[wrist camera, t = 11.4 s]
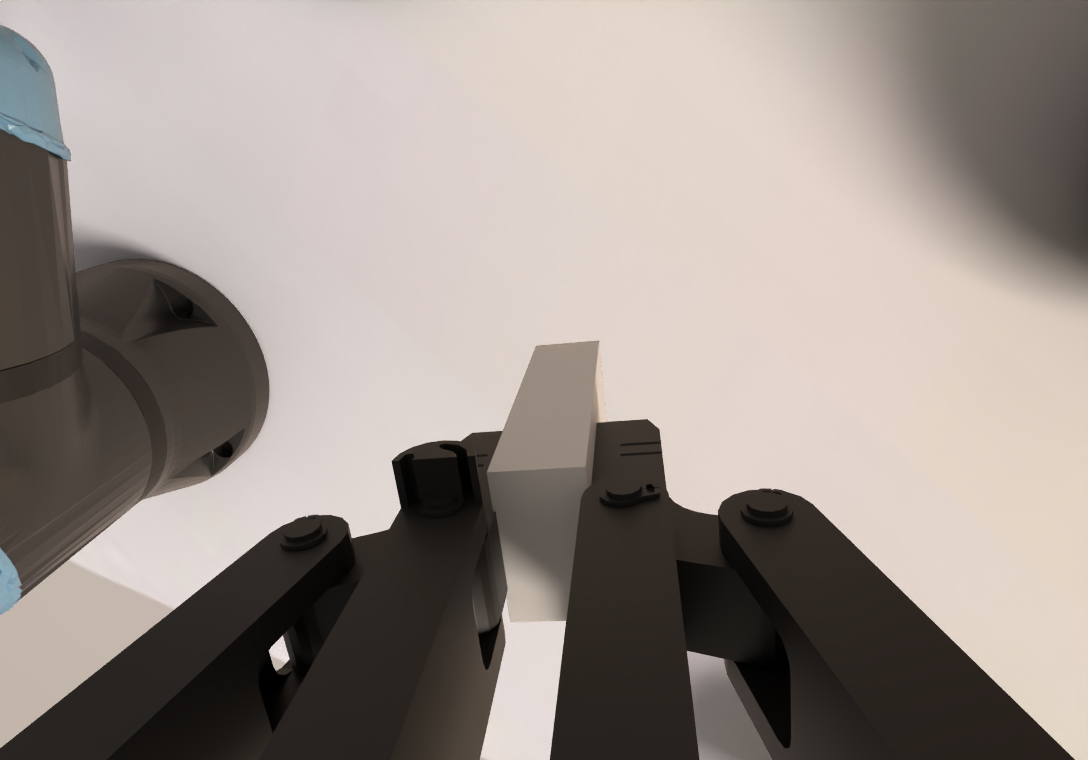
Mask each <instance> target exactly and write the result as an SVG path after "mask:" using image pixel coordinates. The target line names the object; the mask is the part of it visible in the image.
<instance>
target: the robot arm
mask: <svg viewBox="0 0 1088 760" xmlns="http://www.w3.org/2000/svg"><path fill="white" fill-rule="evenodd" d="M67 161H71V154H70V151H69V149H68V148H67V146H66V145H65V144H64V141H63V135H62V129H61V123H60V117H59V110H58V103H57V96H56V89H55V82H54V78H53V73H52V71H51V69H50V66H49V65H48V63H47V61H46V59H45V58H44V56H43V55H42V54H41V53H40V51H39V50H38V49H37V48H36V47H35V46H34V45H33V44H32V43H31V42H30V41H28V40H27V39H26V38H24V37H23V36H21V35H20V34H18V33H17V32H15V31H13V30H11V29H9V28H7V27H5V26H2V25H0V615H2V614H3V613H5V612H6V611H7V610H9V609H11V608H12V607H13V606H14V605H15V604H16V603H17V602H18V601H19V600H20V599H21V598H22V597H23V596H25V595H26V594H27V593H28V592H29V591H31V590H32V589H33V588H34V587H36V586H37V585H38V584H39V583H40V582H42V581H43V580H44V579H45V578H46V577H48V576H49V575H50V574H51V573H53V572H54V571H55V570H56V569H58V568H59V567H60V566H61V565H62V564H64V563H65V562H66V561H67V560H69V559H70V558H71V557H72V556H73V555H75V554H76V553H77V552H78V551H80V550H81V549H82V548H83V547H84V546H86V545H87V544H88V543H89V542H91V541H92V540H93V539H94V538H95V537H97V536H98V535H99V534H100V533H101V532H103V531H104V530H105V529H106V528H108V527H109V526H110V525H111V524H112V523H114V522H115V521H116V520H117V519H119V518H120V517H121V516H122V515H123V514H125V513H126V512H127V511H128V510H130V509H131V508H132V507H133V506H134V505H136V504H137V503H138V502H140V501H141V500H143V499H146V498H150V497H153V496H157V495H160V494H164V493H168V492H171V491H175V490H178V489H182V488H185V487H189V486H192V485H195V484H198V483H201V482H203V481H206V480H208V479H210V478H212V477H213V476H215V475H217V474H219V473H220V472H222V471H223V470H224V469H226V468H227V467H228V466H229V465H230V464H232V463H233V462H234V461H235V460H236V459H237V458H239V457H240V456H241V455H242V454H243V453H244V452H245V451H246V450H247V449H248V448H249V447H250V446H251V445H252V443H253V442H254V440H255V439H256V437H257V436H258V434H259V432H260V430H261V428H262V426H263V423H264V420H265V417H266V414H267V409H268V403H269V379H268V372H267V367H266V363H265V360H264V356H263V353H262V351H261V348H260V346H259V343H258V341H257V339H256V337H255V335H254V333H253V331H252V330H251V328H250V327H249V325H248V323H247V322H246V321H245V319H244V318H243V316H242V315H241V314H240V313H239V311H238V310H237V309H236V308H235V307H234V306H233V304H232V303H231V302H230V301H229V300H228V299H227V298H226V297H225V296H223V295H222V294H221V293H220V292H219V291H218V290H216V289H215V288H214V287H212V286H211V285H210V284H208V283H207V282H205V281H204V280H202V279H201V278H199V277H197V276H195V275H194V274H192V273H190V272H188V271H185V270H183V269H181V268H178V267H176V266H173V265H169V264H166V263H162V262H158V261H152V260H143V259H129V260H120V261H115V262H111V263H107V264H103V265H99V266H96V267H92V268H89V269H86V270H83V271H80V272H78V273H76V272H75V261H74V248H73V235H72V222H71V209H70V196H69V183H68V170H67ZM392 465H393V470H394V475H395V480H396V485H397V490H398V495H399V500H400V505H401V509H400V511H399V513H398V515H397V517H396V518H395V520H394V522H393V524H392V525H391V527H390V529H389V530H385V531H382V532H378V533H374V534H369V535H365V536H360V537H356V538H351V533H350V529H349V525H348V523H347V522H346V521H345V520H344V519H343V518H340V517H336V516H332V515H310V516H308V517H307V518H306V516H305V517H301V518H298V519H296V520H294V521H293V522H291V523H288V524H286V525H283V526H281V527H280V528H278V529H277V530H275V531H273V532H272V533H270V534H269V535H268V536H266V537H265V538H264V539H263V540H261V541H260V542H259V543H257V544H256V545H255V546H254V547H252V548H251V549H250V550H249V551H247V552H246V553H245V554H244V555H242V556H241V557H240V558H239V559H237V560H236V561H235V562H234V563H232V564H231V565H230V566H229V567H227V568H226V569H225V570H224V571H222V572H221V573H220V574H219V575H217V576H216V577H215V578H214V579H212V580H211V581H210V582H209V583H207V584H206V585H205V586H204V587H202V588H201V589H200V590H198V591H197V592H196V593H195V594H193V595H192V596H191V597H190V598H188V599H187V600H186V601H185V602H183V603H182V604H181V605H180V606H178V607H177V608H176V609H175V610H173V611H172V612H171V613H170V614H169V615H167V616H166V617H165V618H163V619H162V620H161V621H160V622H159V623H157V624H156V625H155V626H153V627H152V628H151V629H150V630H148V631H147V632H146V633H145V634H143V635H142V636H141V637H139V638H138V639H137V640H136V641H134V642H133V643H132V644H131V645H130V646H128V647H127V648H126V649H124V650H123V651H122V652H121V653H119V654H118V655H117V656H116V657H114V658H113V659H112V660H111V661H110V662H108V663H107V664H106V665H104V666H103V667H102V668H101V669H100V670H98V671H97V672H96V673H94V674H93V675H92V676H91V677H89V678H88V679H87V680H86V681H84V682H83V683H82V684H81V685H79V686H78V687H77V688H76V689H74V690H73V691H72V692H70V693H69V694H68V695H67V696H65V697H64V698H63V699H62V700H61V701H59V702H58V703H57V704H55V705H54V706H53V707H52V708H50V709H49V710H48V711H47V712H45V713H44V714H43V715H42V716H40V717H39V718H38V719H37V720H35V721H34V722H33V723H32V724H30V725H29V726H28V727H27V728H25V729H24V730H23V731H22V732H20V733H19V734H18V735H16V736H15V737H14V738H13V739H12V740H10V741H9V742H8V743H6V744H5V745H4V746H3V747H1V748H0V760H480V755H481V751H482V746H483V742H484V737H485V733H486V728H487V724H488V719H489V715H490V710H491V706H492V701H493V697H494V692H495V688H496V683H497V679H498V674H499V670H500V665H501V661H502V656H503V652H504V647H505V631H504V625H503V619H502V611H503V607H504V603H505V599H506V597H507V604H508V610H509V616H510V622H532V621H566V628H565V637H564V645H563V654H562V662H561V671H560V679H559V688H558V696H557V704H556V713H555V721H554V730H553V738H552V747H551V755H550V760H699V753H698V744H697V736H696V727H695V719H694V710H693V701H692V693H691V684H690V675H689V667H688V658H687V651H691V652H696V653H700V654H705V655H709V656H714V657H719V658H723V659H724V661H725V667H726V671H727V675H728V677H729V679H730V680H731V682H732V684H733V686H734V688H735V690H736V692H737V694H738V695H739V697H740V699H741V701H742V703H743V705H744V707H745V708H746V710H747V712H748V714H749V716H750V718H751V720H752V722H753V723H754V725H755V727H756V729H757V731H758V733H759V735H760V736H761V738H762V740H763V742H764V744H765V746H766V748H767V750H768V751H769V753H770V755H771V757H772V759H773V760H1075V759H1074V758H1073V757H1072V756H1071V755H1070V754H1069V753H1067V752H1066V751H1065V750H1064V749H1063V748H1062V747H1061V746H1060V745H1059V744H1058V743H1057V742H1056V741H1055V740H1054V739H1053V738H1052V737H1051V736H1050V735H1049V734H1048V733H1047V732H1046V731H1045V730H1044V729H1043V728H1042V727H1041V726H1040V725H1039V724H1038V723H1037V722H1036V721H1035V720H1034V719H1033V718H1032V717H1031V716H1029V715H1028V714H1027V713H1026V712H1025V711H1024V710H1023V709H1022V708H1021V707H1020V706H1019V705H1018V704H1017V703H1016V702H1015V701H1014V700H1013V699H1012V698H1011V697H1010V696H1009V695H1008V694H1007V693H1006V692H1005V691H1004V690H1003V689H1002V688H1001V687H1000V686H999V685H998V684H997V683H996V682H995V681H994V680H993V679H992V678H990V677H989V676H988V675H987V674H986V673H985V672H984V671H983V670H982V669H981V668H980V667H979V666H978V665H977V664H976V663H975V662H974V661H973V660H972V659H971V658H970V657H969V656H968V655H967V654H966V653H965V652H964V651H963V650H962V649H961V648H960V647H959V646H958V645H957V644H956V643H955V642H954V641H952V640H951V639H950V638H949V637H948V636H947V635H946V634H945V633H944V632H943V631H942V630H941V629H940V628H939V627H938V626H937V625H936V624H935V623H934V622H933V621H932V620H931V619H930V618H929V617H928V616H927V615H926V614H925V613H924V612H923V611H922V610H921V609H920V608H919V607H918V606H917V605H916V604H915V603H913V602H912V601H911V600H910V599H909V598H908V597H907V596H906V595H905V594H904V593H903V592H902V591H901V590H900V589H899V588H898V587H897V586H896V585H895V584H894V583H893V582H892V581H891V580H890V579H889V578H888V577H887V576H886V575H885V574H884V573H883V572H882V571H881V570H880V569H879V568H878V567H877V566H875V565H874V564H873V563H872V562H871V561H870V560H869V559H868V558H867V557H866V556H865V555H864V554H863V553H862V552H861V551H860V550H859V549H858V548H857V547H856V546H855V545H854V544H853V543H852V542H851V541H850V540H849V539H848V538H847V537H846V536H845V535H844V534H843V533H842V532H841V531H840V530H839V529H838V528H836V527H835V526H834V525H833V524H832V523H831V522H830V521H829V520H828V519H827V518H826V517H825V516H824V515H823V514H822V513H821V512H820V511H819V510H818V509H817V508H816V507H815V506H814V505H813V504H812V503H810V502H808V501H807V500H805V499H804V498H802V497H801V496H798V495H795V494H791V493H788V492H785V491H782V490H777V489H773V490H771V489H759V490H748V491H745V492H741V493H738V494H734V495H732V496H730V497H729V498H727V499H726V500H724V501H723V502H722V504H721V506H720V508H719V510H718V515H711V514H705V513H700V512H694V511H692V510H689V509H686V508H683V507H681V506H680V505H678V504H676V503H675V502H674V501H673V500H672V499H671V498H670V497H669V494H668V492H667V490H666V482H665V474H664V465H663V457H662V448H661V440H660V431H659V429H658V428H657V427H656V426H655V425H654V424H652V423H651V422H650V421H649V420H648V419H645V420H630V421H615V422H607V417H606V407H605V396H604V386H603V375H602V365H601V354H600V344H599V341H589V342H577V343H565V344H553V345H541V346H536V347H535V350H534V352H533V355H532V358H531V360H530V363H529V365H528V368H527V370H526V373H525V376H524V378H523V381H522V383H521V386H520V388H519V391H518V393H517V396H516V399H515V401H514V404H513V406H512V409H511V411H510V414H509V417H508V419H507V422H506V424H505V427H504V429H503V431H495V432H480V433H472V434H470V435H469V436H467V437H466V438H465V439H463V440H462V441H461V442H460V441H437V442H430V443H425V444H422V445H418V446H415V447H412V448H410V449H408V450H406V451H404V452H402V453H400V454H399V455H398V456H397V457H395V458H394V459H393V460H392ZM282 635H283V637H284V640H285V644H286V648H287V651H288V655H289V658H290V660H289V661H288V662H287V663H286V664H285V665H284V666H283V667H282V668H281V669H279V670H278V671H276V670H275V669H274V667H273V664H272V661H271V657H270V654H269V649H270V648H271V646H272V645H273V644H274V643H275V642H276V641H277V640H278V639H279V638H280V637H281V636H282Z"/></svg>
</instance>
